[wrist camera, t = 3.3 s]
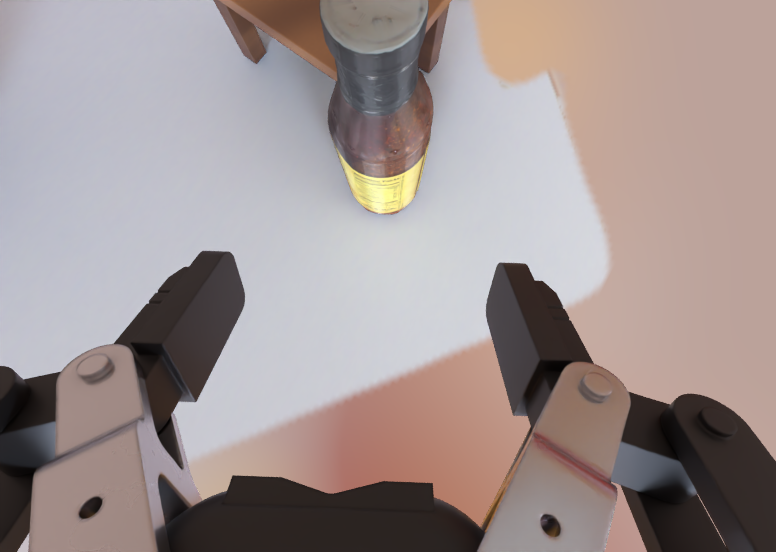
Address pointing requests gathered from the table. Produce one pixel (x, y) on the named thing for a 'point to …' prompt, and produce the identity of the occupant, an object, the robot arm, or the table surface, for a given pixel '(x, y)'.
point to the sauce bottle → (379, 97)
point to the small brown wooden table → (310, 30)
